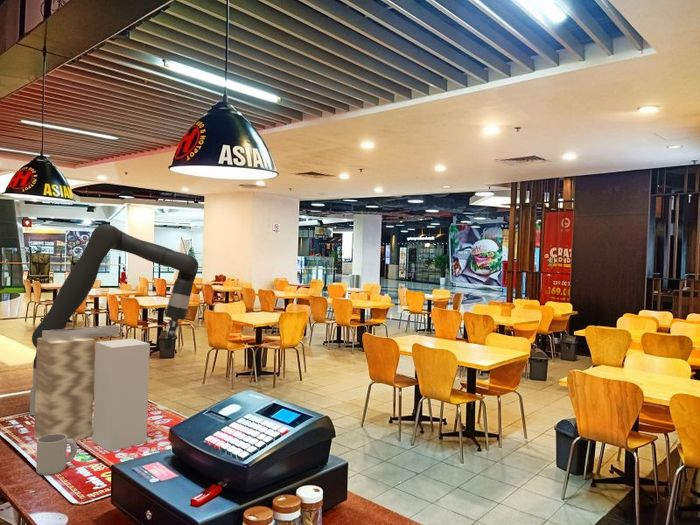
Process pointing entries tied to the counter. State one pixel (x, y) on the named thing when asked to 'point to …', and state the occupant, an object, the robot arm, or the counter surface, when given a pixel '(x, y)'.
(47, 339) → the wooden block
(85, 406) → the walnut stand
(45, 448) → the cup
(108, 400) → the block
